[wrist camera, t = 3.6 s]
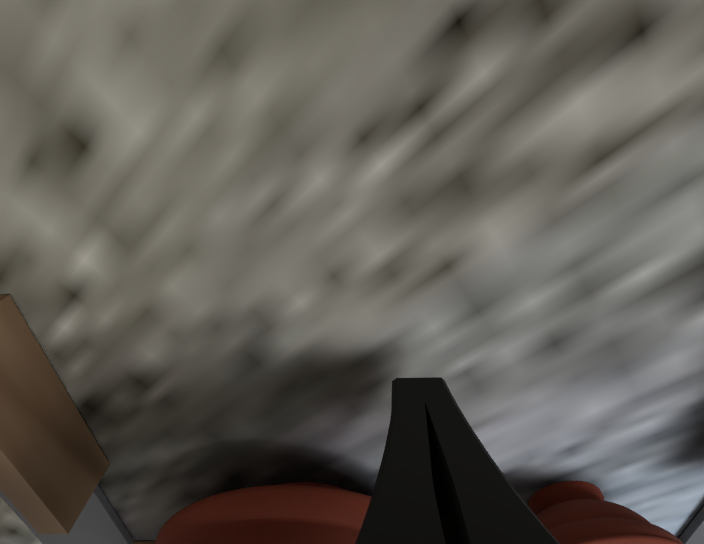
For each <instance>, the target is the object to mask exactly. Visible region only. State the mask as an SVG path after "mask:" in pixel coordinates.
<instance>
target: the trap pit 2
mask: <svg viewBox="0 0 704 544" xmlns="http://www.w3.org/2000/svg"><path fill="white" fill-rule="evenodd" d="M679 540H681V541H682V542H683V543H684V544H704V506H703V508H702V509H701V510H700V512H699V513H698V514H697V515H696V517H695V518H694V519H693V521H692V522H691V523H690V524H689V526H688V527H687V528H686V530H685V531H684V532H683V533H682V535H681V536H680V537H679Z"/></svg>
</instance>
